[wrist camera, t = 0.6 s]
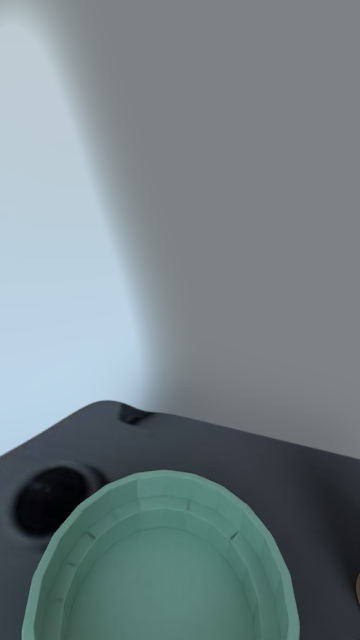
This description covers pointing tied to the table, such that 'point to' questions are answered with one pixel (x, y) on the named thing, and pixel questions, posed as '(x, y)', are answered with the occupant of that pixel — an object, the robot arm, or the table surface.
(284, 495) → the table surface
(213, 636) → the green shallow bowl
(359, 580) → the pepper mill
